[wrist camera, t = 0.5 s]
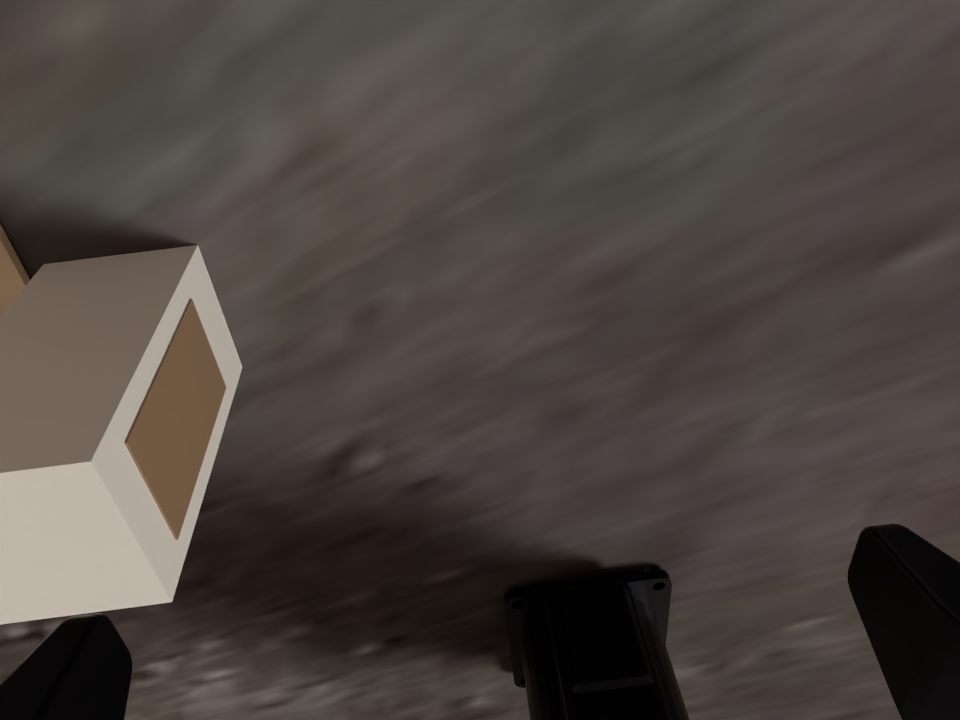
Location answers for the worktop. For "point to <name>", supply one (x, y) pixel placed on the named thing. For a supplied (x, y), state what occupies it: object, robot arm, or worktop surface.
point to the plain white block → (108, 429)
